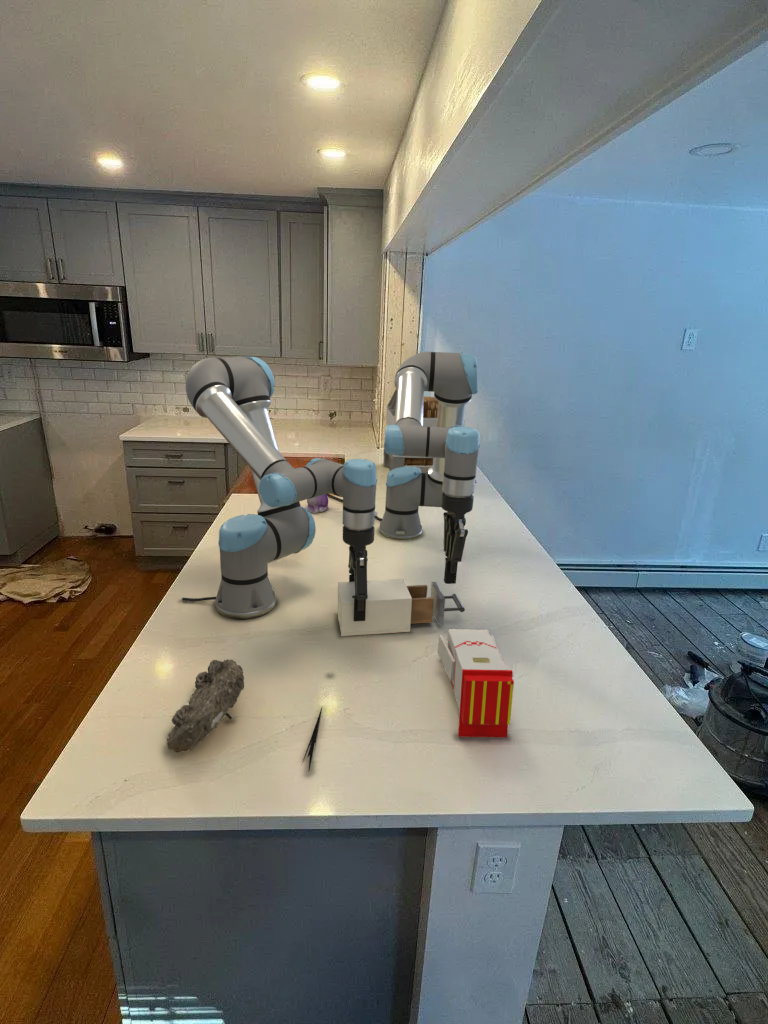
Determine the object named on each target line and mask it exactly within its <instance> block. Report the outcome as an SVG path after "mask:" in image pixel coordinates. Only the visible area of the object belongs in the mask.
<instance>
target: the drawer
mask: <svg viewBox="0 0 768 1024" xmlns="http://www.w3.org/2000/svg"><path fill="white" fill-rule="evenodd" d="M406 586H407V588H408V591H409V593H410V595H411V598H412V606H411V625H412V624H428V623H429V624H430V623H433V616H434V619H435V620H436V622H437V625H438V626H443V625H444V618H445V612H457V611H459V613H464V612H465V611H466V608H465V607H464V605H463V603H462V601H461V599H460V598H459V596H458V595H457V594H456V593H452V594H451V595H444V594H443V592H442V590H441V588H440V587H439V585H438V583H437V581H431V585H430V596H429V597H428V585H427V584H415V585H413V584H412V585H406ZM451 599H452V601H453V603H454V605H456V607H445V604H446V600H451Z"/></svg>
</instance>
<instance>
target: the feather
mask: <svg viewBox="0 0 768 1024" xmlns="http://www.w3.org/2000/svg"><path fill="white" fill-rule="evenodd" d="M329 675H330V676H331V675H332V674H331V673H330V674H329ZM322 710H323V707H321V708H320V710H319V713H318V716H317V719H316V723H315V725H314V728H313V731H312V733H311V737H310V739H309V742H308V745H307V748H306V751H305V754H304V757H303V760H302V763H301V767H302V765H303V763H304V761H305V758H308V759H309V760H308V762H307V763H308V764H307V766H308V771H310V770H311V766H312V765H311V764H312V760H313V757H315V756H314V755H315V751H316V749H315V746H317V739H318V733H319V729H320V722H321V717H322V712H323V711H322ZM313 754H314V755H313ZM306 755H307V757H306Z"/></svg>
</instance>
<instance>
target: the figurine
mask: <svg viewBox="0 0 768 1024" xmlns="http://www.w3.org/2000/svg"><path fill="white" fill-rule="evenodd" d="M306 504H307V507H306V509H308V510H309V513H311V514H317V513H322V512H325V511H327V510H328V509H329V496H327V494H324V495H321V496H318V497H314V498H310V499H306Z"/></svg>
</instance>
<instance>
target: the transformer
mask: <svg viewBox="0 0 768 1024" xmlns="http://www.w3.org/2000/svg"><path fill="white" fill-rule="evenodd" d="M396 399H397V390H396V389H395V390H394V392H393V394H392V395H391V398H390V400H389V402H388V404H387V405H386V413H385V414H386V415H385V423H386V427H387V426H388V425H394V420H395V409H396ZM437 413H438V401H437V400H436V399H435V397H434V396H424V401H423V426H424V427H436V424H437ZM464 422H465V419H464ZM386 427H385V428H386ZM463 427H465V423H464V424H463ZM384 443H385V441H384V442H383V444H384ZM431 465H433V457H416V456H398V455H389V454H387V453H386V452H385V450H384V449H383V466H384V467H388V468H389V472H390V471H391V470H393V469H395V468H399V467H405V466H406V467H407V466H412V467H417V466H418V467H430V466H431Z"/></svg>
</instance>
